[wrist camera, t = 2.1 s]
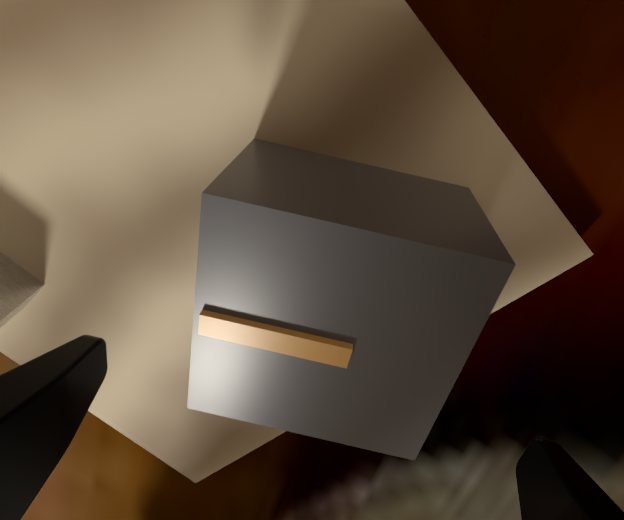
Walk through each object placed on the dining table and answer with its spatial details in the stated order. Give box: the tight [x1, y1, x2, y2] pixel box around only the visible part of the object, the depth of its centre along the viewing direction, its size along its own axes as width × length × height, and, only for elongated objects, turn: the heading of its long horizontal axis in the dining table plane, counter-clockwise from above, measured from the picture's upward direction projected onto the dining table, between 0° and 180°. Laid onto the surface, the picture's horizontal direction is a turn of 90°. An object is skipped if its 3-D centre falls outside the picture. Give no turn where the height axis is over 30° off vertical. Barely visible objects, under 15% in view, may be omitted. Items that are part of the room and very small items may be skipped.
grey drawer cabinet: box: [187, 139, 516, 460], centre depth 12 cm, size 6×6×5 cm
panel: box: [0, 0, 593, 483], centre depth 15 cm, size 18×20×1 cm
